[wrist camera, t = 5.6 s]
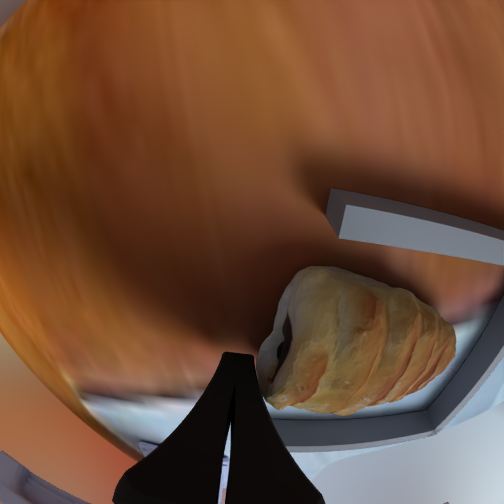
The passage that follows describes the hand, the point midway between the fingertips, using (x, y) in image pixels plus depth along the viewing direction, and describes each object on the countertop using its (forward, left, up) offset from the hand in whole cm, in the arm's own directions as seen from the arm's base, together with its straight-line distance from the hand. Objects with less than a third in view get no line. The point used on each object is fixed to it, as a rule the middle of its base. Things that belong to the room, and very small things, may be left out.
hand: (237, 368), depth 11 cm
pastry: (+2, -5, -2) cm, 5 cm away
